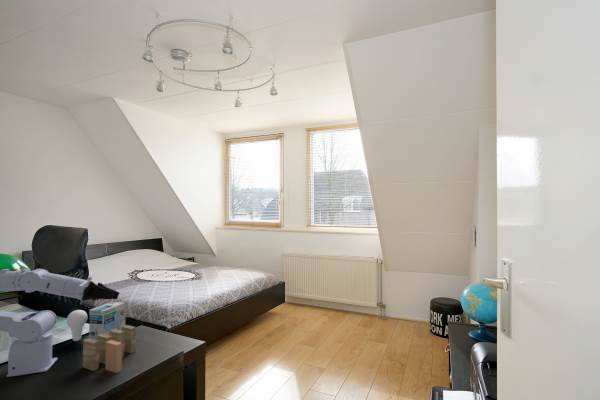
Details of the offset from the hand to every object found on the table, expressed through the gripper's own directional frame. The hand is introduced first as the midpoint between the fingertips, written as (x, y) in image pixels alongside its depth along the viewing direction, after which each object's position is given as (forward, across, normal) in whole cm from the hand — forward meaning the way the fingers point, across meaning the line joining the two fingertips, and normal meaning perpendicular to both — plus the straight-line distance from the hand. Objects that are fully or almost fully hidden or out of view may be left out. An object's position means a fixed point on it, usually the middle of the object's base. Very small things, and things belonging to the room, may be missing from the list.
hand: (115, 295), depth 98 cm
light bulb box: (-3, +27, +15) cm, 31 cm away
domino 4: (+7, -2, +20) cm, 21 cm away
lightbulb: (-11, +24, +18) cm, 32 cm away
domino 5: (+8, +10, +16) cm, 21 cm away
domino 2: (+3, +4, +19) cm, 20 cm away
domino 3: (+6, +7, +18) cm, 20 cm away
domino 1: (+1, +2, +21) cm, 21 cm away
